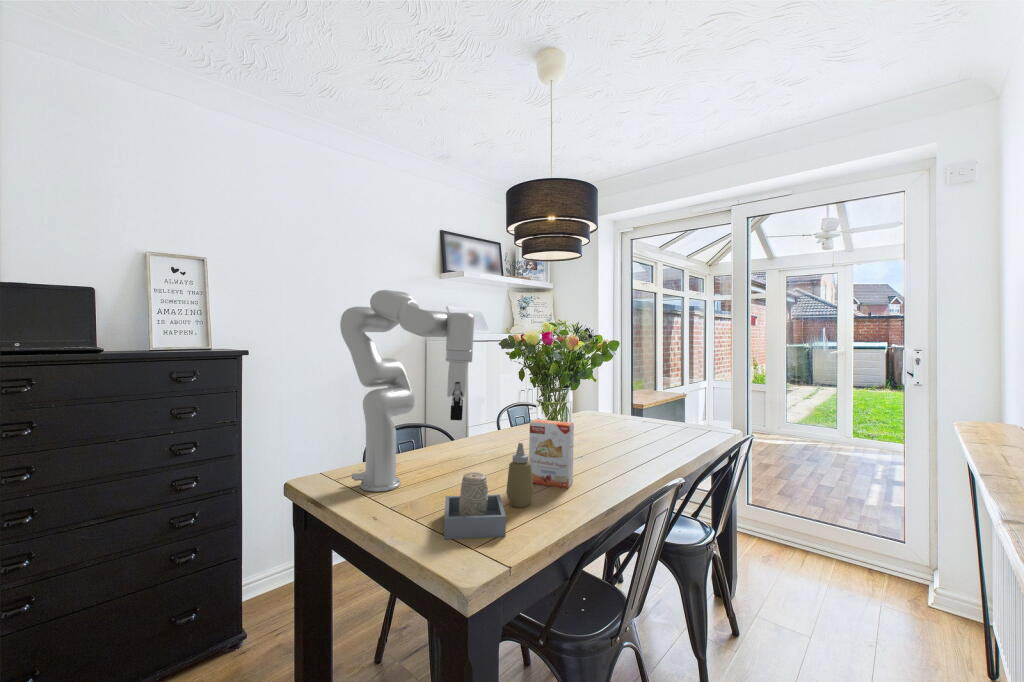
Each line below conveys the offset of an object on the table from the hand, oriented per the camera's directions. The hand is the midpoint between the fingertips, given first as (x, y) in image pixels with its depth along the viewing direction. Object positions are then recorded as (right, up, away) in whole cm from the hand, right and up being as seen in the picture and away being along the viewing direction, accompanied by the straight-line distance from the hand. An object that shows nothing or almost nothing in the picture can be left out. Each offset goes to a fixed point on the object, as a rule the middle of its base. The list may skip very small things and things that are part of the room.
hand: (456, 416), depth 126 cm
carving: (+6, -26, -10) cm, 28 cm away
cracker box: (+29, -27, +23) cm, 45 cm away
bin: (+6, -27, -10) cm, 29 cm away
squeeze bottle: (+18, -27, +4) cm, 33 cm away
